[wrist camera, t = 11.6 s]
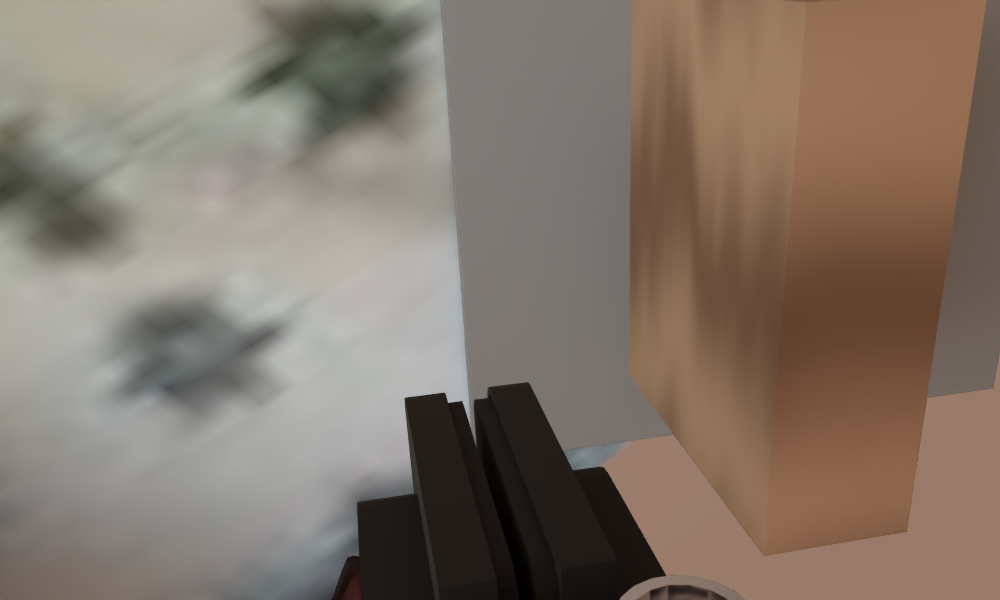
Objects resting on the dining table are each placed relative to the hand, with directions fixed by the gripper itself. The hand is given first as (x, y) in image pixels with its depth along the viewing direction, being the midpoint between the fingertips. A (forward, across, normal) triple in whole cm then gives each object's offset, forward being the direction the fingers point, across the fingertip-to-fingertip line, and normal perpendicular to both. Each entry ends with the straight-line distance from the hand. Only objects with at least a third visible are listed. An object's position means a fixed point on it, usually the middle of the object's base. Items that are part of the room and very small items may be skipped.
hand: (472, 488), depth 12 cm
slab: (+11, -7, -1) cm, 13 cm away
